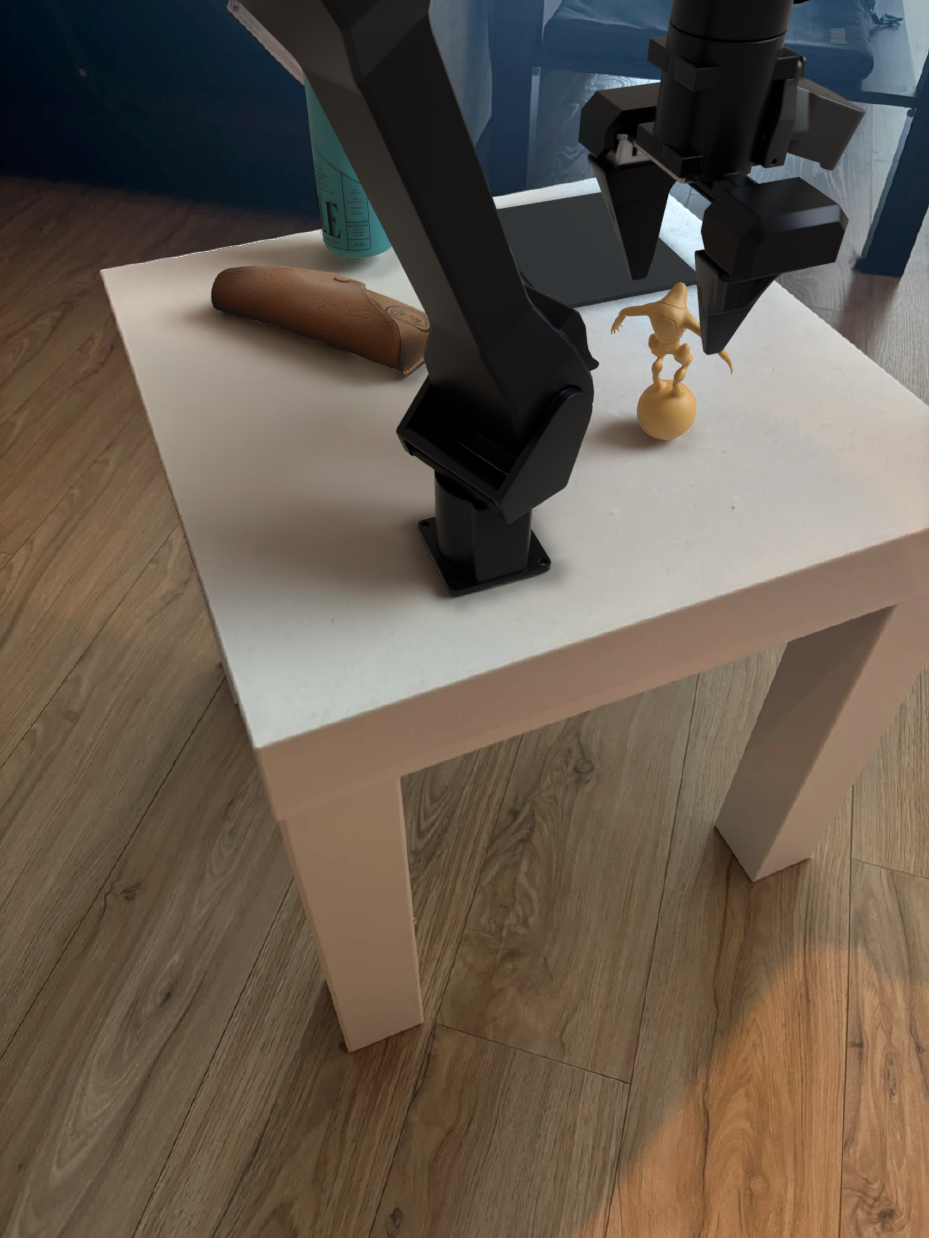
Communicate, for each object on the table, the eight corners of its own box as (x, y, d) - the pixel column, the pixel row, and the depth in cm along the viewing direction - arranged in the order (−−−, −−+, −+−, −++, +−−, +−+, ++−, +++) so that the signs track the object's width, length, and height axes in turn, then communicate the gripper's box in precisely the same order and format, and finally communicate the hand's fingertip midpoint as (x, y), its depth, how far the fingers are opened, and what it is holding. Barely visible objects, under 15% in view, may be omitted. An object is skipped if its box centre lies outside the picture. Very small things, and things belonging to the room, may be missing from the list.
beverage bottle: (412, 252, 82) (401, -14, 68) (367, 284, 79) (345, 10, 64) (352, 233, 85) (329, -28, 70) (306, 264, 81) (271, -5, 66)
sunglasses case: (459, 324, 73) (435, 274, 67) (420, 402, 73) (392, 358, 66) (276, 268, 79) (238, 217, 73) (238, 339, 79) (196, 293, 72)
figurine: (729, 439, 65) (771, 275, 56) (693, 486, 61) (732, 320, 52) (621, 400, 68) (645, 239, 59) (581, 443, 64) (600, 279, 55)
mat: (702, 283, 79) (703, 278, 79) (550, 312, 76) (550, 308, 75) (608, 194, 90) (609, 190, 90) (472, 217, 87) (472, 213, 87)
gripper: (993, 66, 42) (878, 368, 54) (763, -40, 54) (709, 227, 65) (781, 97, 39) (708, 408, 51) (587, -21, 51) (564, 254, 63)
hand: (673, 314), depth 57 cm, fingers open, 9 cm apart
